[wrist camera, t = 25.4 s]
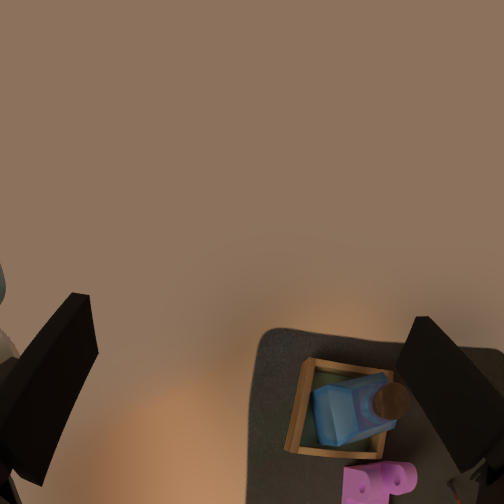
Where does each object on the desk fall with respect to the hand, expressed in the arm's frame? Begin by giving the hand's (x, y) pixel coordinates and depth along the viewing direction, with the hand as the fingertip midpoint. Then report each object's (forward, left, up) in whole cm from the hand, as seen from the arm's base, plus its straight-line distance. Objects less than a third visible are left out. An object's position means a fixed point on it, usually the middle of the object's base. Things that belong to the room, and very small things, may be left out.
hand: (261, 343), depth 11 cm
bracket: (+18, -12, -24) cm, 32 cm away
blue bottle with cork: (+12, 0, -23) cm, 26 cm away
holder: (+12, 0, -23) cm, 26 cm away
